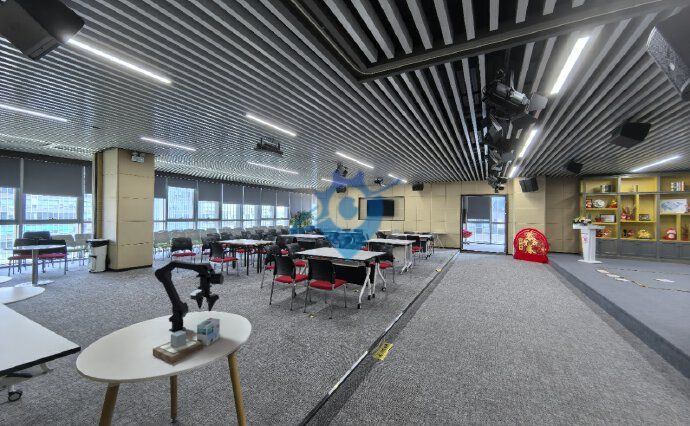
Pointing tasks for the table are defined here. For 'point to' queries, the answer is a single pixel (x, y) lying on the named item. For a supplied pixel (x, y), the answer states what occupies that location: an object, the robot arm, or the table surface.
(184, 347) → the walnut base
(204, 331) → the light bulb box
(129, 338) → the table surface
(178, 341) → the grey block
